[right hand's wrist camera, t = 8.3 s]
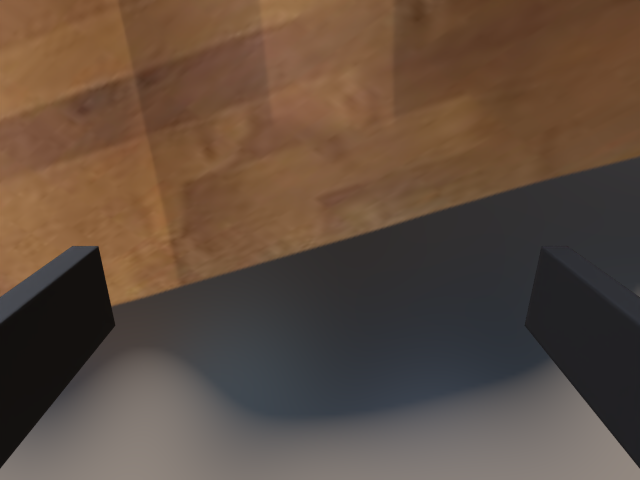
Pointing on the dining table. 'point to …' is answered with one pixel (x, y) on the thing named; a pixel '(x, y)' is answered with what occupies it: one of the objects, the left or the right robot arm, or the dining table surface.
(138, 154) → the dining table surface
